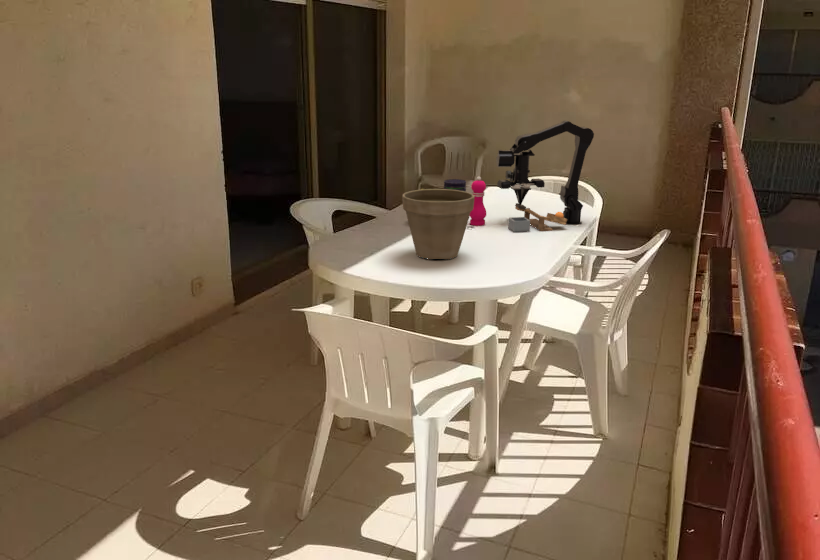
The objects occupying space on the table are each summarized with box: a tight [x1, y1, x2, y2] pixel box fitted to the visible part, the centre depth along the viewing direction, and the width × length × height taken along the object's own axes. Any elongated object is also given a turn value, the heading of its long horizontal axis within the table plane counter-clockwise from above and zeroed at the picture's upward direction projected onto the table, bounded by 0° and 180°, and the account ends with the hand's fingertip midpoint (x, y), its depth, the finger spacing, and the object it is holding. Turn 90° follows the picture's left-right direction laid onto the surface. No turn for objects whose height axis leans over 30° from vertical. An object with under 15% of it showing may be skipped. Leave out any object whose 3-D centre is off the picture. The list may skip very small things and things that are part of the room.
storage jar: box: [443, 178, 467, 192], centre depth 292 cm, size 10×10×15 cm
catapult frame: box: [523, 207, 553, 232], centre depth 275 cm, size 6×18×6 cm, turn 11°
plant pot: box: [401, 188, 474, 260], centre depth 232 cm, size 25×25×22 cm
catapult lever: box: [514, 202, 567, 226], centre depth 274 cm, size 17×16×3 cm
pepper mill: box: [469, 176, 487, 227], centre depth 275 cm, size 7×7×20 cm
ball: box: [554, 211, 564, 218], centre depth 270 cm, size 4×4×4 cm
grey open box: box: [507, 216, 531, 233], centre depth 268 cm, size 7×7×4 cm
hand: (519, 204), depth 277 cm, fingers closed
